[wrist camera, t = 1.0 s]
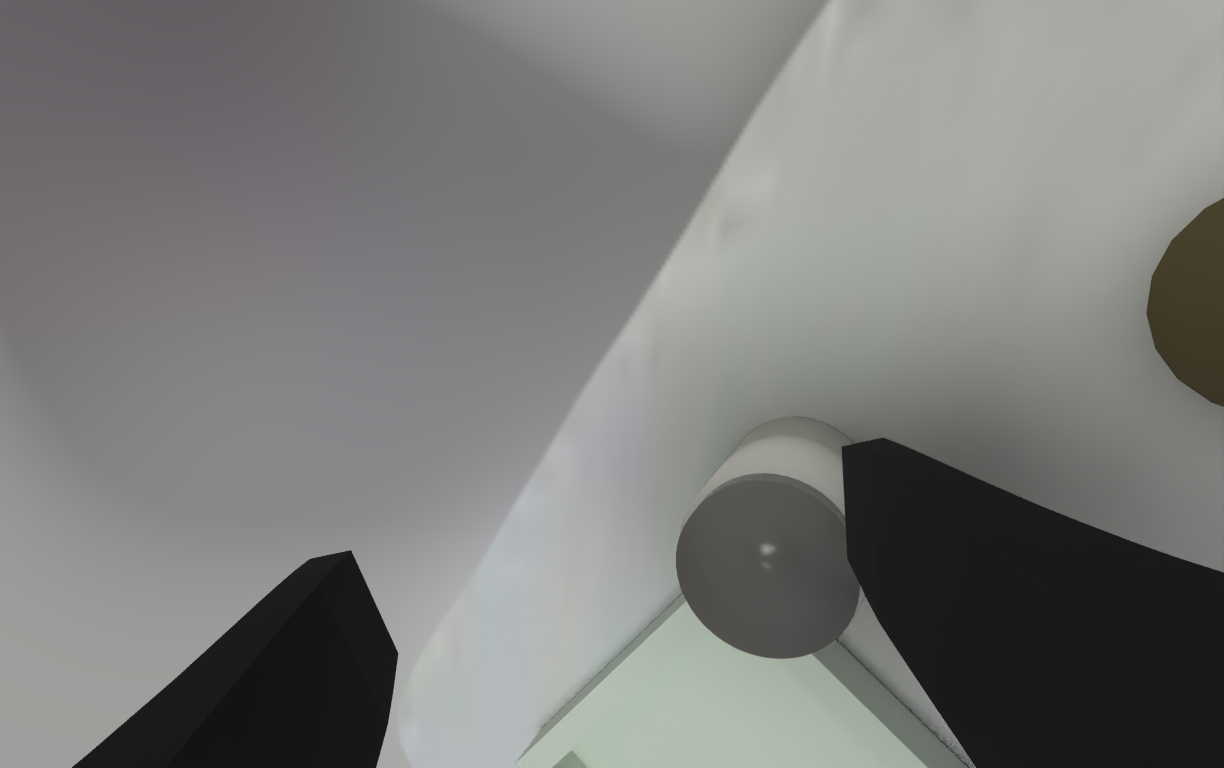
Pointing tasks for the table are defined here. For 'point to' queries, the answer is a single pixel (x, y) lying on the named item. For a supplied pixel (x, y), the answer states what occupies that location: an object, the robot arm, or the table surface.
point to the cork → (1192, 304)
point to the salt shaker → (772, 543)
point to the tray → (731, 710)
